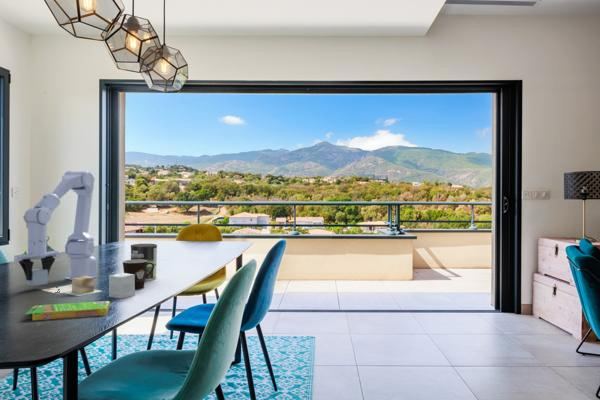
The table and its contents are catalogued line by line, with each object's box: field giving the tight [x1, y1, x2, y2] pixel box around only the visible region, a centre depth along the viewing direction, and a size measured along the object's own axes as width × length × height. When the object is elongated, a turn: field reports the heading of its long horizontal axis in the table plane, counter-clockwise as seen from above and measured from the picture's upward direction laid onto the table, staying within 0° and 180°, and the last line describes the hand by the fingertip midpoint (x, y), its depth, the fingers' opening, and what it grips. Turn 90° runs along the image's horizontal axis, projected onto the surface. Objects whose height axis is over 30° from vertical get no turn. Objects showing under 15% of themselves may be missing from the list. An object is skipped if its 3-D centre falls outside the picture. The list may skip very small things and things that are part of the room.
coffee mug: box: [122, 259, 154, 291], centre depth 158 cm, size 12×9×10 cm
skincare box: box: [108, 272, 136, 299], centre depth 144 cm, size 6×6×7 cm
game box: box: [25, 300, 111, 321], centre depth 123 cm, size 3×10×20 cm
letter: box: [42, 284, 72, 294], centre depth 154 cm, size 13×10×1 cm
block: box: [71, 276, 95, 294], centre depth 149 cm, size 5×5×5 cm
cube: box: [25, 268, 49, 287], centre depth 152 cm, size 5×5×5 cm
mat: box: [64, 288, 104, 297], centre depth 148 cm, size 9×9×1 cm
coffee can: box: [130, 243, 158, 282], centre depth 174 cm, size 10×10×14 cm
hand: (37, 278), depth 152 cm, fingers closed on cube, 5 cm apart
